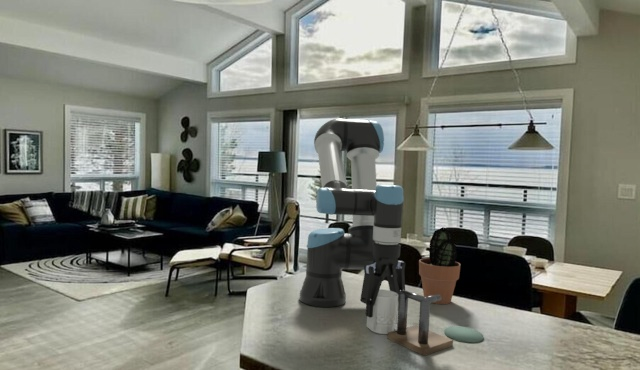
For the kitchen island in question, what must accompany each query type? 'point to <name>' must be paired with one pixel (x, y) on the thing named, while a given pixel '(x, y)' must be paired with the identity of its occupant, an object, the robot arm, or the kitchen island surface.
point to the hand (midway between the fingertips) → (381, 325)
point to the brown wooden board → (411, 342)
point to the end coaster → (463, 334)
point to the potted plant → (440, 267)
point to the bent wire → (422, 318)
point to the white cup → (385, 311)
